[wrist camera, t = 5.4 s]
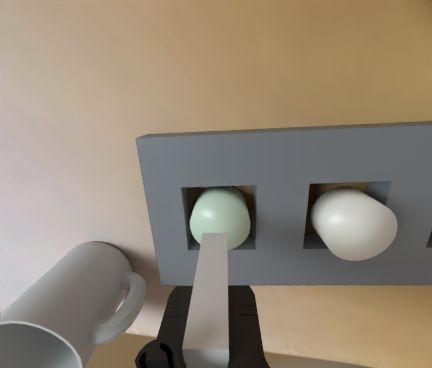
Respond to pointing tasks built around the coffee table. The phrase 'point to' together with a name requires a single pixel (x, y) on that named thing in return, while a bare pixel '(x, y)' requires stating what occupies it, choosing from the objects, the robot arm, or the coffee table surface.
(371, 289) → the coffee table surface
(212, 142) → the panel
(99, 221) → the coffee table surface
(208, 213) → the sage button
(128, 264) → the cup
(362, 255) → the cream button
